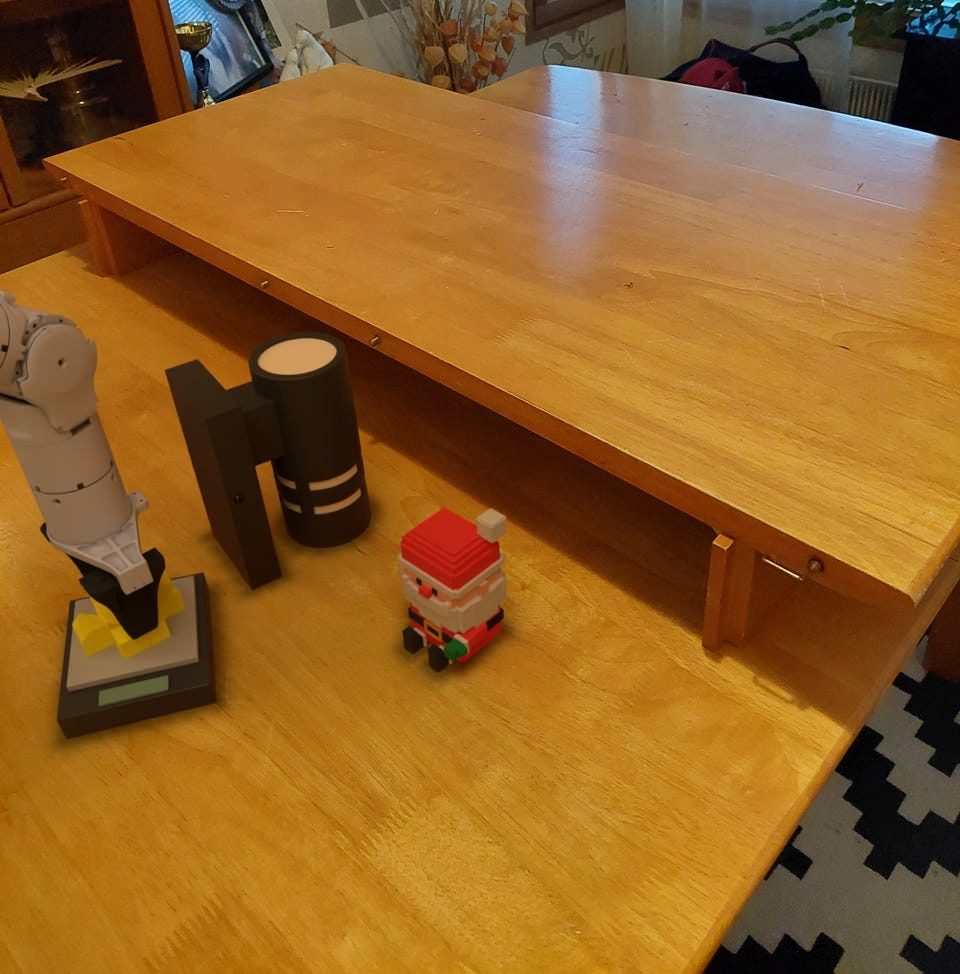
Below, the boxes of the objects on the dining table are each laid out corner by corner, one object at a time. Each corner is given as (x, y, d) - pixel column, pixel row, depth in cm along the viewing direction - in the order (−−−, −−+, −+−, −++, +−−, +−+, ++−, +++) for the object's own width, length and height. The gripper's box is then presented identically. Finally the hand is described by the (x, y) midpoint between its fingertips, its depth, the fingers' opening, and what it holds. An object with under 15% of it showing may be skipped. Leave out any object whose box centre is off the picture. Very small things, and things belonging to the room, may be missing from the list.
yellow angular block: (72, 630, 74) (39, 557, 69) (167, 584, 77) (142, 512, 73) (97, 673, 70) (64, 599, 65) (196, 623, 73) (172, 550, 69)
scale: (216, 703, 71) (208, 678, 69) (65, 739, 68) (53, 714, 67) (209, 590, 81) (201, 566, 79) (77, 619, 79) (67, 595, 77)
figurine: (385, 635, 75) (367, 521, 68) (447, 589, 79) (436, 476, 72) (460, 689, 70) (449, 572, 63) (522, 637, 74) (518, 522, 67)
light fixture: (391, 529, 86) (367, 361, 75) (253, 592, 80) (206, 419, 69) (342, 479, 92) (314, 318, 82) (212, 534, 87) (163, 368, 76)
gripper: (171, 490, 61) (216, 633, 70) (87, 407, 70) (136, 542, 79) (67, 538, 58) (128, 682, 66) (-8, 444, 67) (54, 581, 75)
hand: (126, 609), depth 72 cm, fingers closed on yellow angular block, 6 cm apart
